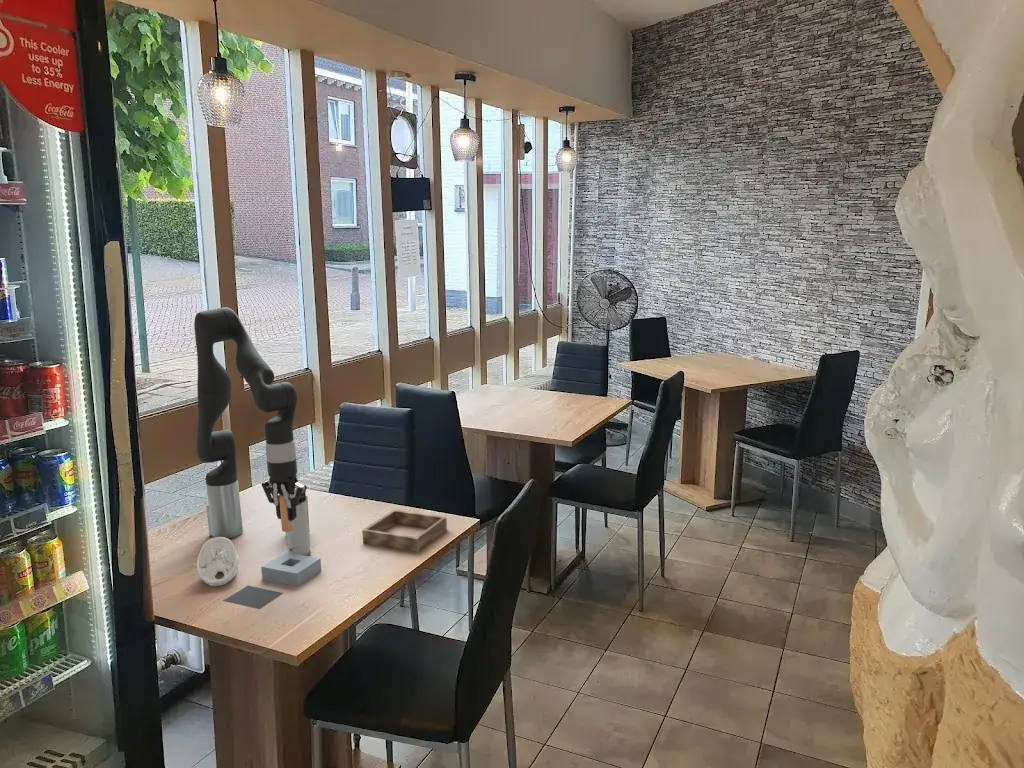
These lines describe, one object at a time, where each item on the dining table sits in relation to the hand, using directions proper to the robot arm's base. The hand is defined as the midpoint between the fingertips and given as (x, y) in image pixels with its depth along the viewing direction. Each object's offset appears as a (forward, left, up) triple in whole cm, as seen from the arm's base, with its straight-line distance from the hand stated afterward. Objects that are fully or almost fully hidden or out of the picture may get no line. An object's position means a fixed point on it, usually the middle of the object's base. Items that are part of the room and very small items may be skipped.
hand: (286, 518), depth 207 cm
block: (0, 0, -17) cm, 17 cm away
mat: (-1, -14, -17) cm, 22 cm away
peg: (0, 0, -3) cm, 3 cm away
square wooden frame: (+15, +35, -17) cm, 42 cm away
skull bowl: (-18, -8, -17) cm, 26 cm away
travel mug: (-7, +12, -17) cm, 22 cm away
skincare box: (-18, +25, -17) cm, 35 cm away
